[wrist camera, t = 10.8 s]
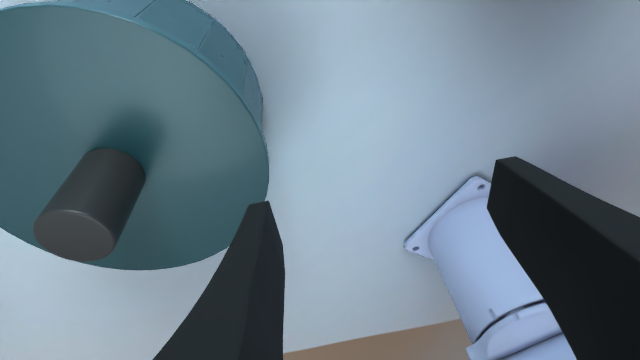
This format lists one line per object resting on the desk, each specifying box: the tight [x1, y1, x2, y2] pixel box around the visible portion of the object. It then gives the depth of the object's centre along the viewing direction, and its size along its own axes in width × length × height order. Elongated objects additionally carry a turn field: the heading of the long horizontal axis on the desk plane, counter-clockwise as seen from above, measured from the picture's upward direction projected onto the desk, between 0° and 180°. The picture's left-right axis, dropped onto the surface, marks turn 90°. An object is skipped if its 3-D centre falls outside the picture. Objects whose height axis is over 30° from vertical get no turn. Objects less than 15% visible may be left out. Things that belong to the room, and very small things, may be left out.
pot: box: [54, 0, 263, 126], centre depth 17 cm, size 11×11×6 cm
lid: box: [0, 2, 269, 270], centre depth 13 cm, size 12×12×5 cm
